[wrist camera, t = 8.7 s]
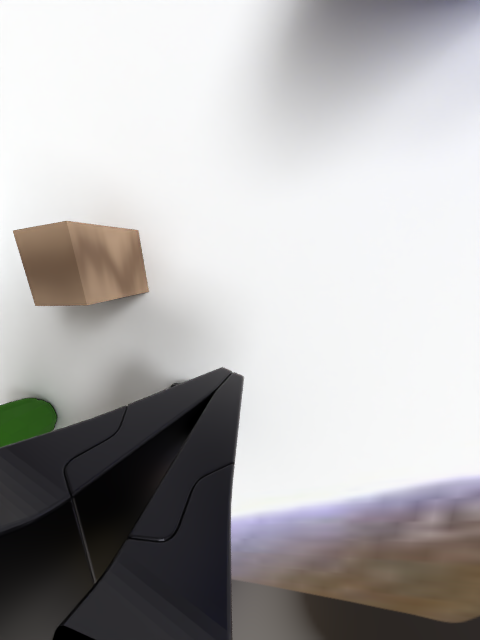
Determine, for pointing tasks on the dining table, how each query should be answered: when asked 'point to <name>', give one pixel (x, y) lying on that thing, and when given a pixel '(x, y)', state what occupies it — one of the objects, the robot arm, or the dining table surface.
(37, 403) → the bell pepper
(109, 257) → the walnut block
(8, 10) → the dining table surface
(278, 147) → the dining table surface
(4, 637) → the robot arm
